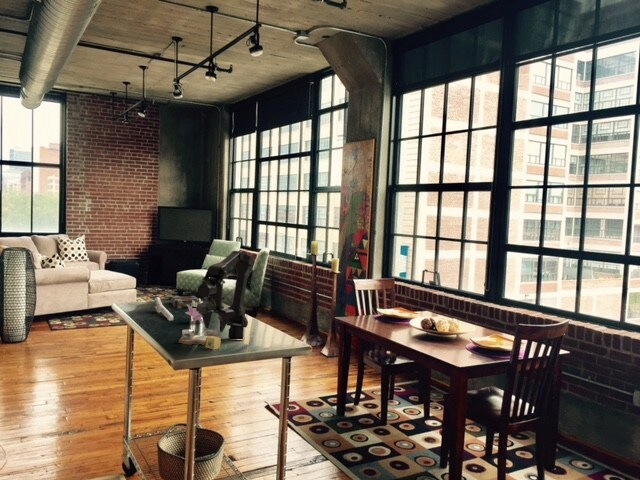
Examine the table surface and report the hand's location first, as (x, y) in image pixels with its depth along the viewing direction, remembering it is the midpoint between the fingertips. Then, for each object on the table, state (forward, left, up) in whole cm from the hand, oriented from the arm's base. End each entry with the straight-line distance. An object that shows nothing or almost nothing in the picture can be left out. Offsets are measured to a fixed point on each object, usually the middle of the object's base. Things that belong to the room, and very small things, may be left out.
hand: (214, 330), depth 234 cm
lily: (+17, -49, -8) cm, 52 cm away
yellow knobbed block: (0, 0, -8) cm, 8 cm away
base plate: (+8, -10, -8) cm, 15 cm away
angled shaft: (+13, -9, -7) cm, 17 cm away
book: (+31, -95, -9) cm, 100 cm away
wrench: (+37, -64, -9) cm, 75 cm away
